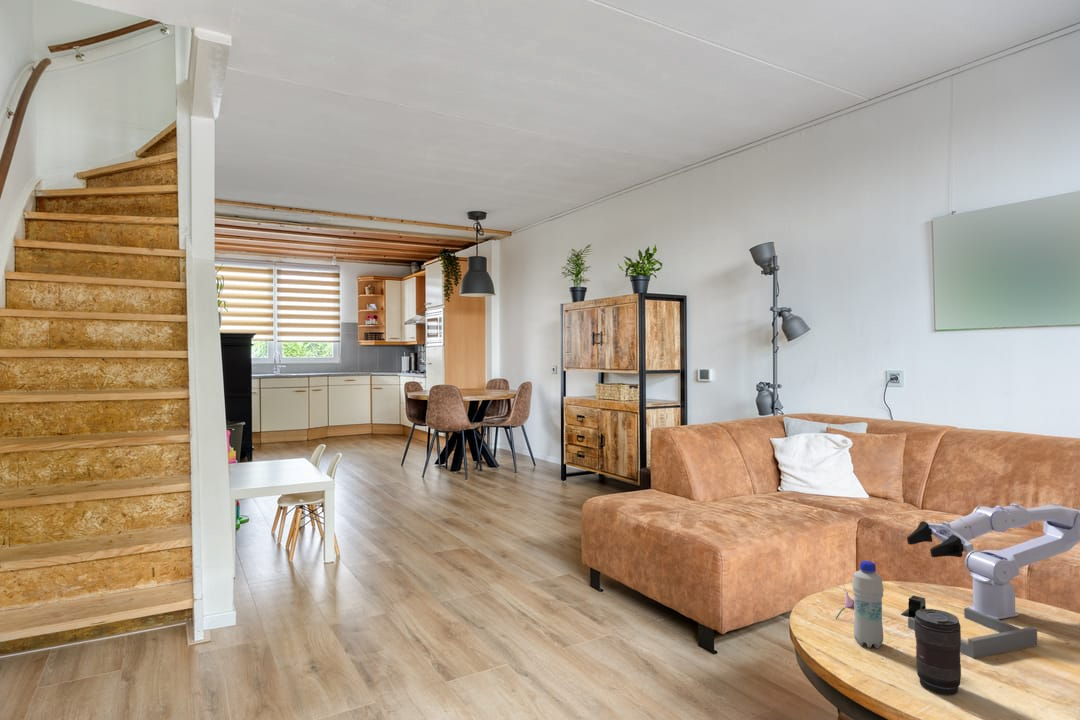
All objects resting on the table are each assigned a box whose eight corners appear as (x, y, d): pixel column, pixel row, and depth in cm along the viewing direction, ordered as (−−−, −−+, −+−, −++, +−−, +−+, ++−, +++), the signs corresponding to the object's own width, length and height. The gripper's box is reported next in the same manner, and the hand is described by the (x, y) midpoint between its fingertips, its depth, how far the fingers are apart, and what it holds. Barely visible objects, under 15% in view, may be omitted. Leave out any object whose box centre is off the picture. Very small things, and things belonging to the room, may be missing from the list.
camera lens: (906, 678, 131) (905, 608, 131) (941, 676, 131) (940, 607, 131) (934, 699, 123) (932, 624, 123) (971, 696, 123) (970, 623, 123)
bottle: (883, 640, 148) (881, 558, 148) (885, 652, 142) (884, 567, 142) (852, 635, 151) (851, 555, 151) (853, 647, 145) (852, 563, 145)
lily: (859, 638, 152) (878, 604, 152) (815, 608, 160) (832, 576, 160) (867, 636, 161) (885, 604, 161) (824, 607, 169) (841, 577, 169)
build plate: (910, 605, 171) (910, 589, 171) (940, 613, 166) (940, 596, 166) (894, 617, 163) (894, 600, 163) (925, 626, 157) (925, 608, 157)
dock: (967, 616, 161) (967, 601, 161) (1037, 645, 145) (1036, 628, 145) (908, 627, 155) (907, 611, 155) (973, 658, 139) (973, 641, 139)
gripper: (938, 506, 169) (896, 522, 167) (985, 527, 155) (940, 545, 153) (941, 529, 170) (900, 545, 168) (989, 552, 156) (944, 569, 154)
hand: (919, 547), depth 161 cm, fingers open, 7 cm apart
